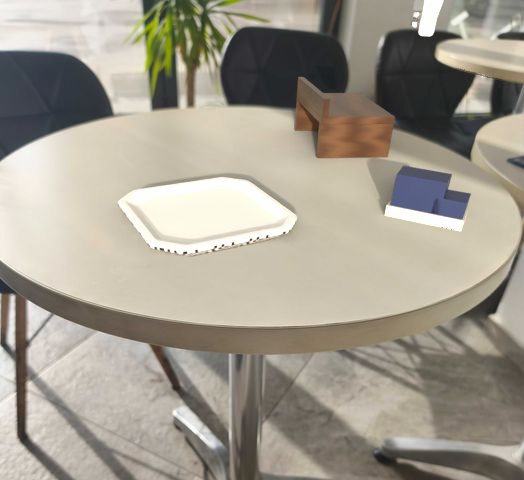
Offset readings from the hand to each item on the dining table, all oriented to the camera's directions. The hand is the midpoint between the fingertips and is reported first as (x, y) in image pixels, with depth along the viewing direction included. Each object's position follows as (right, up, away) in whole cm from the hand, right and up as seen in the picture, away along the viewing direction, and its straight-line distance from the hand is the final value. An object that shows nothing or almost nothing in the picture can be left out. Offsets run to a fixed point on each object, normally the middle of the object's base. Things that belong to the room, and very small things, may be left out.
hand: (420, 31), depth 63 cm
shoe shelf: (-4, +2, +39) cm, 39 cm away
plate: (-28, -23, +6) cm, 37 cm away
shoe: (+4, -21, +10) cm, 24 cm away
